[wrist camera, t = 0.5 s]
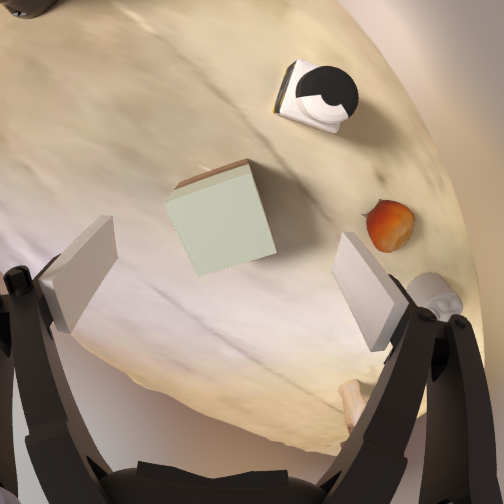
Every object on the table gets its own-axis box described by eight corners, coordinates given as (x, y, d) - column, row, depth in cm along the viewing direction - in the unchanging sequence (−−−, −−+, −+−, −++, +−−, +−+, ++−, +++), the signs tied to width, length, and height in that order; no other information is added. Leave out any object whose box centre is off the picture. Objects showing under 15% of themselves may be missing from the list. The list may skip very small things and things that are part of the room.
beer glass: (360, 388, 66) (375, 432, 53) (336, 395, 67) (349, 441, 53) (360, 375, 63) (377, 423, 50) (335, 383, 63) (349, 432, 50)
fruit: (378, 179, 37) (417, 212, 33) (391, 197, 43) (424, 227, 38) (345, 219, 40) (380, 255, 36) (362, 232, 46) (393, 263, 41)
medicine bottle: (287, 66, 31) (308, 48, 20) (335, 85, 32) (374, 78, 21) (271, 113, 34) (286, 114, 23) (320, 130, 35) (353, 139, 25)
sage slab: (173, 190, 34) (163, 203, 29) (249, 163, 33) (250, 172, 28) (202, 256, 38) (198, 276, 34) (272, 234, 37) (276, 252, 33)
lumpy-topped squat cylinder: (419, 321, 55) (436, 346, 47) (394, 297, 51) (413, 326, 43) (450, 290, 51) (470, 313, 44) (429, 261, 47) (453, 286, 39)
